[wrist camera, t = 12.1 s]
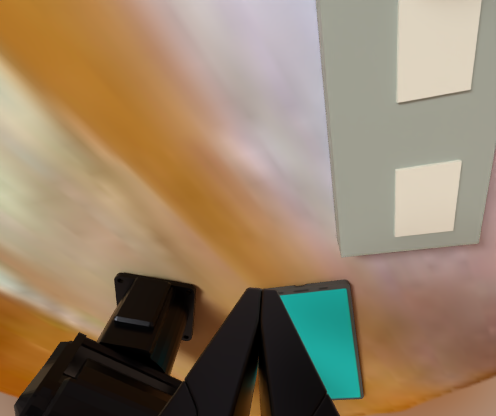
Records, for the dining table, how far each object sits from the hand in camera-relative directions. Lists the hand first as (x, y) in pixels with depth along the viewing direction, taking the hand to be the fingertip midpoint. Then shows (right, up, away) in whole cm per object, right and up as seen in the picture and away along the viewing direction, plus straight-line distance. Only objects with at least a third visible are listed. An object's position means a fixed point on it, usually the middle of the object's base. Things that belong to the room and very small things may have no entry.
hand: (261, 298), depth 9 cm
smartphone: (+5, -9, +19) cm, 22 cm away
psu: (+8, +7, +9) cm, 14 cm away
